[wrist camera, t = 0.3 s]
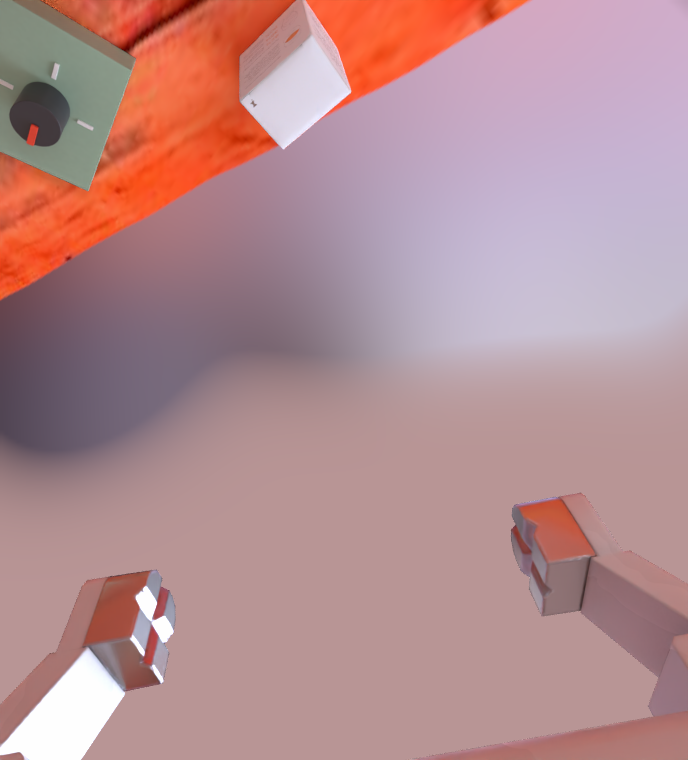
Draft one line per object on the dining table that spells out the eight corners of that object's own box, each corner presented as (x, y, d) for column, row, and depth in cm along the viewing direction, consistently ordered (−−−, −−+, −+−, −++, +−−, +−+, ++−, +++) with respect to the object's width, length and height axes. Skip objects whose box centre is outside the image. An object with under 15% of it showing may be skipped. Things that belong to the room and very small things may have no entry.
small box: (277, 102, 52) (281, 153, 46) (237, 54, 49) (236, 103, 42) (338, 47, 49) (353, 93, 43) (301, -9, 45) (311, 33, 39)
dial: (26, 72, 45) (13, 92, 42) (75, 98, 47) (65, 119, 44) (17, 111, 47) (4, 133, 45) (64, 134, 49) (53, 156, 47)
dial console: (1, -24, 42) (-11, -13, 40) (136, 58, 48) (131, 71, 46) (-25, 121, 50) (-36, 137, 48) (93, 176, 56) (87, 192, 54)
